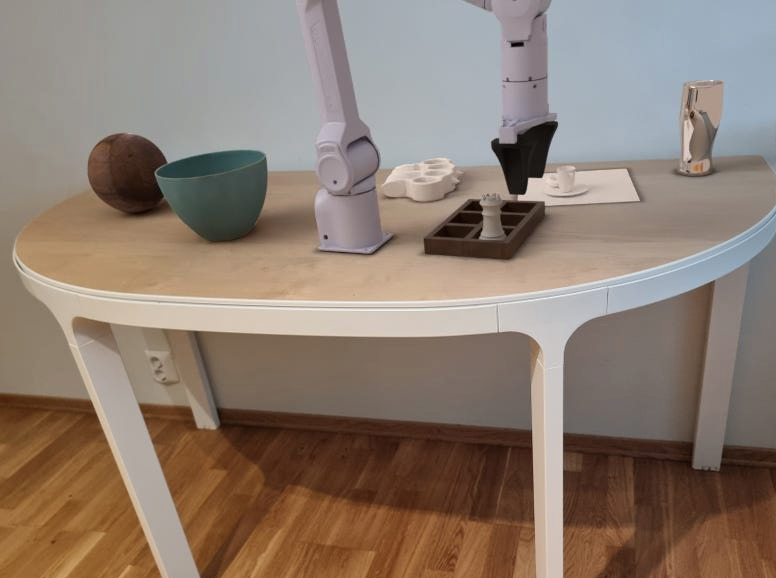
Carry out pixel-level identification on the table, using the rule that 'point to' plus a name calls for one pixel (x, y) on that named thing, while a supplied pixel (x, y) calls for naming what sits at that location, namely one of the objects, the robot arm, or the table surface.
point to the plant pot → (217, 191)
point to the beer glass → (699, 125)
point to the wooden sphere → (126, 172)
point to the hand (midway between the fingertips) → (526, 185)
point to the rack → (467, 225)
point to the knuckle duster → (422, 180)
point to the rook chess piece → (492, 218)
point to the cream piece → (581, 187)
